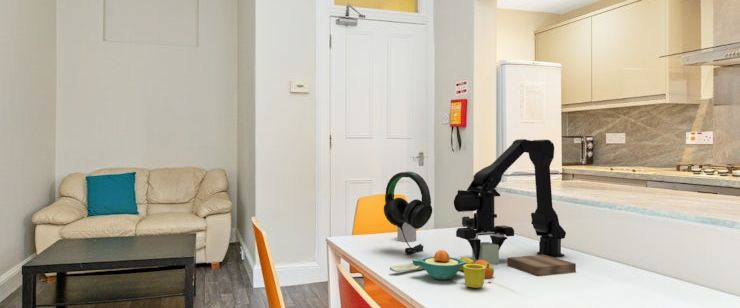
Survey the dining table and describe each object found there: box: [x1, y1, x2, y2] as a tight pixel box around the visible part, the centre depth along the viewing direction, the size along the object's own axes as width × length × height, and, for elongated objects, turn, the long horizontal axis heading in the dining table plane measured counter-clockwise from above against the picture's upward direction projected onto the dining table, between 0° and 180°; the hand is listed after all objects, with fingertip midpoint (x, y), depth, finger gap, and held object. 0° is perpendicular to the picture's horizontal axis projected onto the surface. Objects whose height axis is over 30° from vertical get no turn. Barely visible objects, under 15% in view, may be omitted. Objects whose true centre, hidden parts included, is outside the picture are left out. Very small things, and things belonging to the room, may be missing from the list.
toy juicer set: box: [389, 249, 495, 289], centre depth 140 cm, size 29×18×8 cm, turn 55°
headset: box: [383, 171, 433, 256], centre depth 167 cm, size 18×14×29 cm
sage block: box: [471, 241, 500, 266], centre depth 154 cm, size 6×6×6 cm
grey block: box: [396, 222, 417, 243], centre depth 190 cm, size 8×8×12 cm
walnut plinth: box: [506, 254, 577, 277], centre depth 146 cm, size 14×14×2 cm
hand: (485, 258), depth 154 cm, fingers closed on sage block, 6 cm apart
